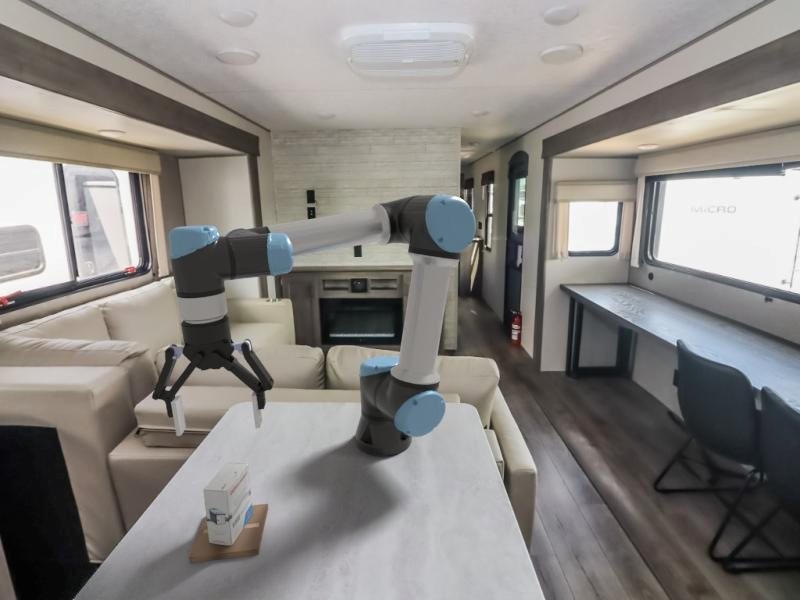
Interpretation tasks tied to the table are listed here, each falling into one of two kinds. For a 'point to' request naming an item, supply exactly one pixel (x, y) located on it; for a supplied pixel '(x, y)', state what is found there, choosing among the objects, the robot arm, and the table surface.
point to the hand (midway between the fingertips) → (220, 428)
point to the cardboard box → (243, 544)
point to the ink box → (228, 503)
